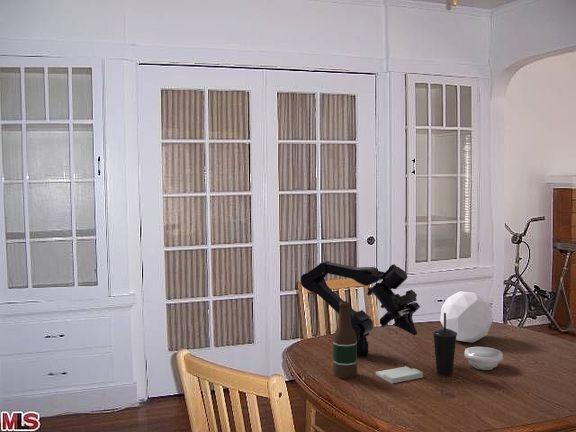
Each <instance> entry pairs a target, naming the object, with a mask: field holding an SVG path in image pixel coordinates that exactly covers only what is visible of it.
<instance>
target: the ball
mask: <svg viewBox="0 0 576 432" xmlns="http://www.w3.org/2000/svg"><path fill="white" fill-rule="evenodd" d="M444 313H446V328H447V329H451V330H453V331H455V332H457V336H456V341H460V342H466V343H475V342H477V341H478V340H480V339H482V338H484V337H486V336H487V335H488V333H489V331H490V329H491V326H492V323H493V320H494V318H493V311H492V309H491V307H490V303H488V302H487V301H486V300H485V299H484V298H482V297H481V296H480V295H479V294H478V293H477V292H471V291H462V290H460V291H457V292H456V293H453V295H450V296H448V297H447V298H446V299H445V301H444V303H443V304H442V306H441V310H440V320H439V321H440V323H441V325H442V328H444Z"/></svg>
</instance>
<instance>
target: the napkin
mask: <svg viewBox="0 0 576 432" xmlns="http://www.w3.org/2000/svg"><path fill="white" fill-rule="evenodd" d="M375 375H376V376H378V377H379V378H381V379H382V380H384V381H387V382H388V383H390V384H396V383H400V382H405V381H411V380H416V379H420V378H421V379H422V378H424V373H423V371H421V370H418V369H417V368H410V367H408V366H401V367H396V368H391V369H385V370H384V369H383V370H380V371H375Z"/></svg>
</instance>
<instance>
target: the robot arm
mask: <svg viewBox="0 0 576 432" xmlns="http://www.w3.org/2000/svg"><path fill="white" fill-rule="evenodd" d="M328 274H329V275H333V276H338V277H341V278H348V279H350V280H351V279H352V280H353V281H354V282H356V283H358V284H361V285H363V286H367V287H368V286H370V285H373V286H370V287H368V288H367V293H366V294H367V296H368V297H369V296H373V295H374V297H376V299H377V300H378V302H379V303H380V304H381V305H380V308H381V309H385V310H386V311H387V312H386V313H384V314H383V316H382V317H380V319H379V324H380V326H381V327H382V328H386V327H388V326H389V323H390V322H391V321H393V322H394V323H392V327H397V328H399V329H401V330H402V331H405V332H408V333H409V334H411V335H412V336H416V335H417V334H418V331H417V328H416V326H415V323H414V320H413V315H414V314H415V313H416V312H417V311H418V310H419V309H420V308H421V306H420V304H419V303H418V302H416V301H417V296H418V294H417V293H416V292H415V291H414V290H413V289H410V290H407V291H406V292H405V294H403V295H400V294H399V293H394V291H393V290H397V289H398V288H399V287H400V286H401V285H402V284H403V283H404V282H405V281H406V280H408V277H409V276H408V274H407V272H406V271H405V270H403V269H401V268H400V267H399V266H397V264H391V265H390V266H389V267H388V269H387V270H386V271H381V270H379V269H378V268H377V267H376V266H375V267H374V266H361V267H360V266H359V267H357V266H351V265H346V264H341V263H337V262H336V263H335V262H331V261H330V260H326V261H322V262H320V263H318V264H317V265H316V266H315V267H314V268H313V269H310V271H308V272H306V273H303V274H302V275H301V276H300V285H301V286H302V288H304V289H306V290H307V291H308V292H311V293H313V294H316V295H318V297H320V298H321V299H322V300H323V301H324V302H325V303H326V304H327V305H329V306H330V308H332V309H333V310H334V311H335V312H336V313H337V314H338V315H339V312H340V306H339V303H340V302H341V301H344V299H342V298H341V297H340V296H339V295H338V294H337V293H336V292H335V291H333V289H331V288H330V287H329V286H328V284H327V282H326V279H325V278H326V277H327V276H328ZM379 281H380V282H379ZM371 318H372V317H371V316H370V315H368V314H367V313H366V312H365V311H364V310H363V309H361V310H358V311H357V310H355V309H354V308H352V307H351V306H350V320H351V326H352V328H353V329H354V331H355V333H356V337H357V358H360V357H361V358H363V357H364V358H366V357H367V358H368V357H369V341H368V340H367V339H368V338H367V337H369V336H370V332H372V331H373V328H374V322H373V319H371Z"/></svg>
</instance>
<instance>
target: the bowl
mask: <svg viewBox="0 0 576 432" xmlns="http://www.w3.org/2000/svg"><path fill="white" fill-rule="evenodd" d="M503 356H504V353H503V352H502V351H501V350H499V349H496V348H493V347H486V346H470V347H468V348H465V350H464V358H465V359H467V360H468V363H469V365H470V366H472V367H473V368H475V369H477V370H481V371H491V370H493V369H494V368H496V367H498V366H499V363H501V362H502V361H503V358H504V357H503Z"/></svg>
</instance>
